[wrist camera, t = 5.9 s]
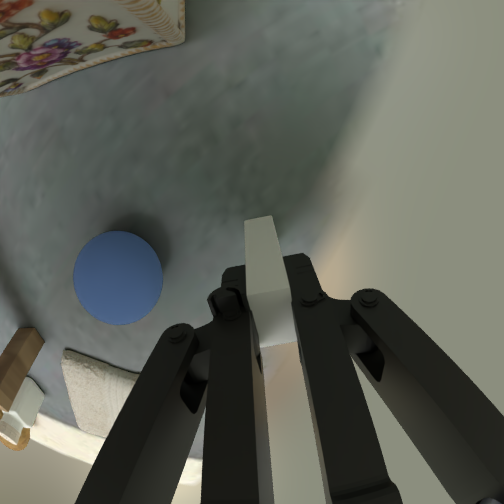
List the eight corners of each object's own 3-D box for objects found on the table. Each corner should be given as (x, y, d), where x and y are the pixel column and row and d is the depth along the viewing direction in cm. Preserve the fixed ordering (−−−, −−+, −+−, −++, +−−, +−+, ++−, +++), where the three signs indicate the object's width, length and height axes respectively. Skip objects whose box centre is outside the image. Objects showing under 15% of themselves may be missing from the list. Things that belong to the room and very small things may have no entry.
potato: (27, 400, 30) (11, 439, 23) (42, 431, 36) (31, 463, 29) (-17, 373, 28) (-35, 407, 21) (3, 409, 34) (-9, 439, 27)
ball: (84, 226, 17) (41, 270, 12) (155, 207, 17) (123, 251, 12) (114, 293, 20) (87, 346, 15) (182, 282, 19) (166, 340, 15)
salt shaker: (32, 376, 26) (6, 434, 18) (47, 395, 28) (25, 450, 20) (13, 371, 26) (-12, 424, 18) (28, 390, 28) (6, 441, 20)
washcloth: (83, 417, 31) (77, 434, 28) (63, 340, 23) (51, 362, 20) (161, 440, 33) (158, 458, 31) (175, 375, 25) (171, 402, 23)
